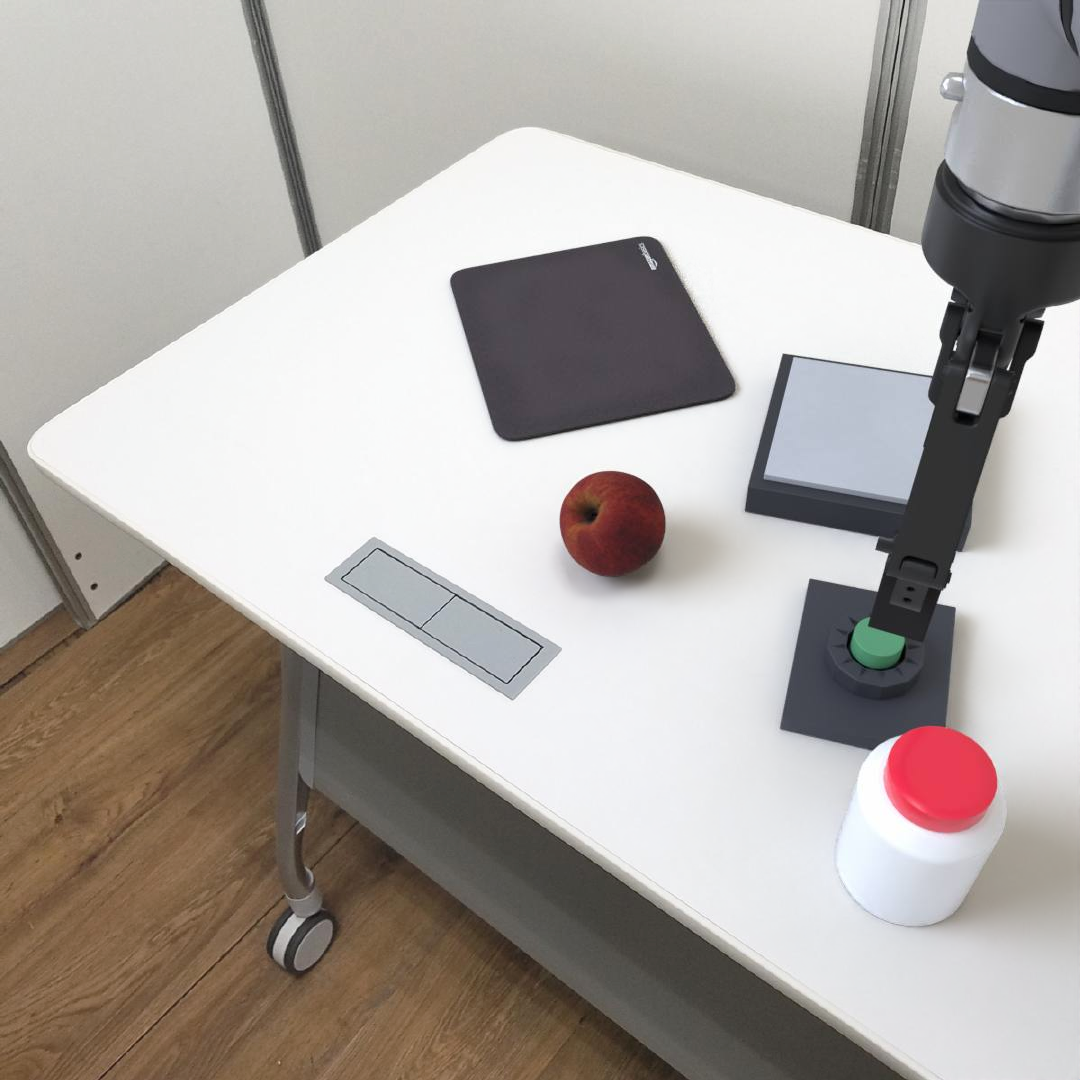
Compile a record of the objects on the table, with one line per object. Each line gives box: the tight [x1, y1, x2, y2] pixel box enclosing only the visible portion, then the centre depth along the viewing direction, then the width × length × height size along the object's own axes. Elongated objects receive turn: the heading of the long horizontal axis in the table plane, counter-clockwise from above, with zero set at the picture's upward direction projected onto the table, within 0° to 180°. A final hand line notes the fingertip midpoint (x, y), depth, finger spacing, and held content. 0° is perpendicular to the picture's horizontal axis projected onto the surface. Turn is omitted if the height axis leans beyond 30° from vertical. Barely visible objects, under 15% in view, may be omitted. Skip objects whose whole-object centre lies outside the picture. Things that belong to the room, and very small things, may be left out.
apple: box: [559, 470, 667, 577], centre depth 79 cm, size 7×8×8 cm
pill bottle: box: [834, 726, 1008, 928], centre depth 61 cm, size 8×8×11 cm
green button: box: [851, 617, 905, 669], centre depth 71 cm, size 3×3×2 cm
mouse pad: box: [449, 235, 736, 441], centre depth 99 cm, size 25×21×1 cm
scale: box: [744, 353, 974, 553], centre depth 86 cm, size 16×16×3 cm
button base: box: [779, 578, 957, 751], centre depth 73 cm, size 12×10×3 cm
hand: (923, 533), depth 58 cm, fingers open, 13 cm apart
